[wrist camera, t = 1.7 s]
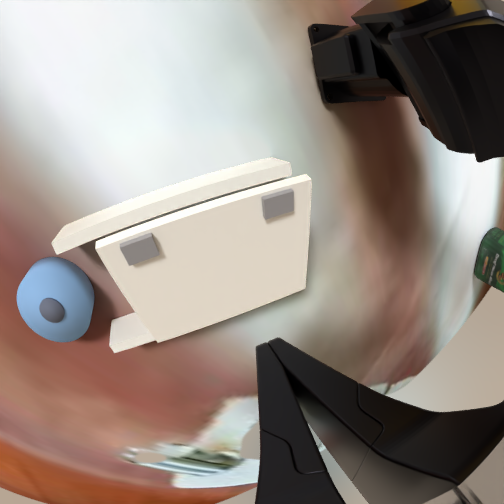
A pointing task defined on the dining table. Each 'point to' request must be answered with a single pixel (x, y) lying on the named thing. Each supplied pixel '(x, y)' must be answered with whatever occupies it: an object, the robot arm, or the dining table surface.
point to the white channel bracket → (154, 204)
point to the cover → (214, 257)
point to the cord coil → (56, 299)
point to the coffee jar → (491, 259)
